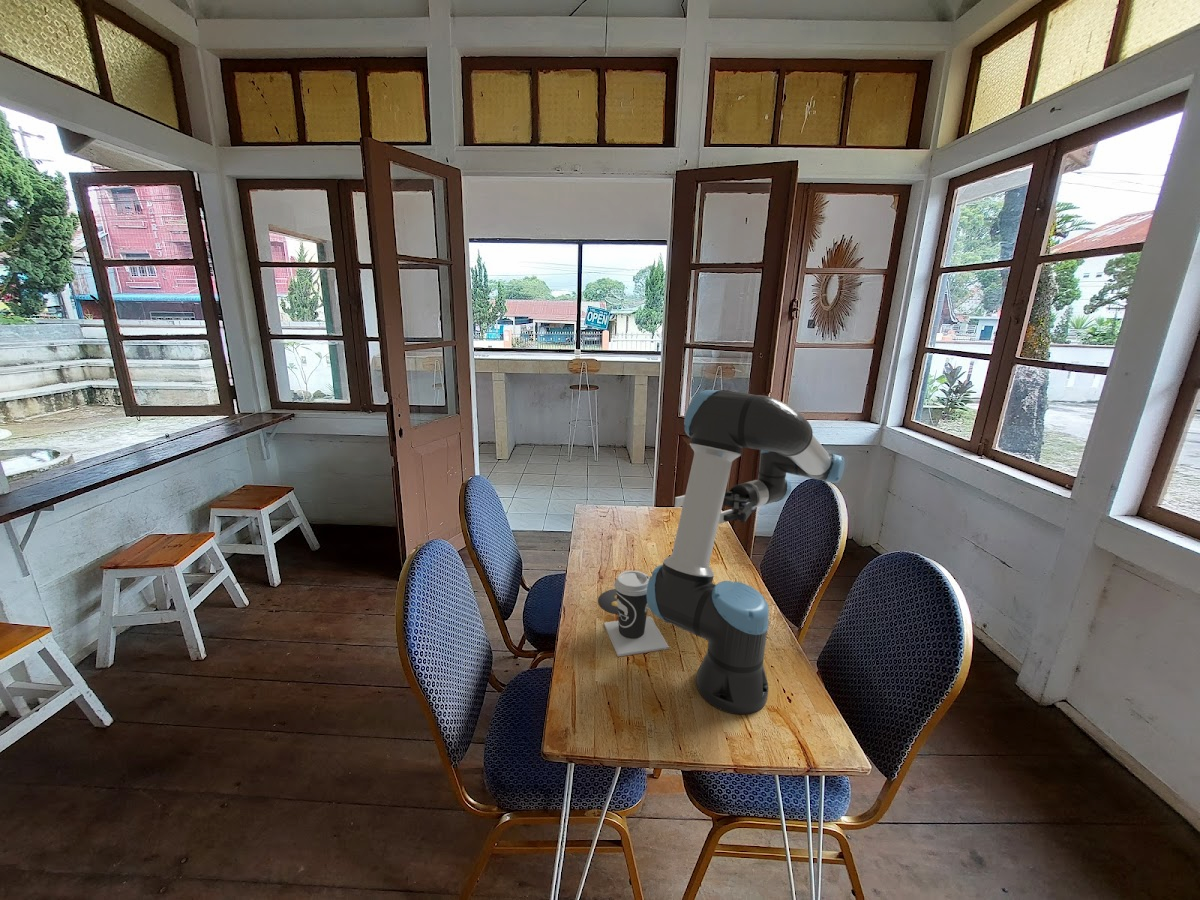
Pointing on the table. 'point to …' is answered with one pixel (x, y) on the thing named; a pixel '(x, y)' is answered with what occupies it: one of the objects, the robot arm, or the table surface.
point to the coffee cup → (632, 603)
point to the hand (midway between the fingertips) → (693, 510)
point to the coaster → (609, 601)
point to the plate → (636, 639)
